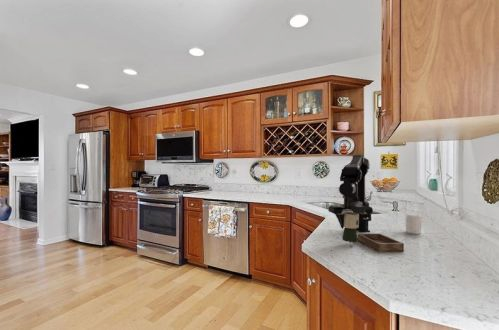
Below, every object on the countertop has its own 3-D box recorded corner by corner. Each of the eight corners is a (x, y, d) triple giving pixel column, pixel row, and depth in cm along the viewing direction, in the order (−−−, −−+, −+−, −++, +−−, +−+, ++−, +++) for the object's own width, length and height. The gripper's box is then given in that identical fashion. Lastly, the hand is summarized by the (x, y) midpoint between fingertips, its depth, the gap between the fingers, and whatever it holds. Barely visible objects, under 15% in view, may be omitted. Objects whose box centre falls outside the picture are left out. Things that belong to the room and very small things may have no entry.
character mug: (359, 246, 105) (360, 216, 105) (341, 244, 107) (342, 214, 107) (357, 239, 115) (357, 211, 115) (341, 237, 117) (341, 210, 117)
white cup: (401, 230, 139) (401, 213, 139) (412, 230, 141) (413, 213, 141) (413, 234, 132) (414, 216, 132) (425, 234, 134) (425, 215, 134)
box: (379, 240, 119) (379, 233, 119) (403, 251, 104) (403, 243, 104) (357, 240, 118) (357, 233, 118) (378, 252, 102) (378, 243, 102)
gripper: (340, 196, 102) (339, 233, 102) (381, 196, 104) (380, 233, 104) (328, 193, 113) (327, 227, 113) (365, 193, 115) (365, 226, 115)
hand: (350, 228), depth 111 cm, fingers closed on character mug, 7 cm apart
